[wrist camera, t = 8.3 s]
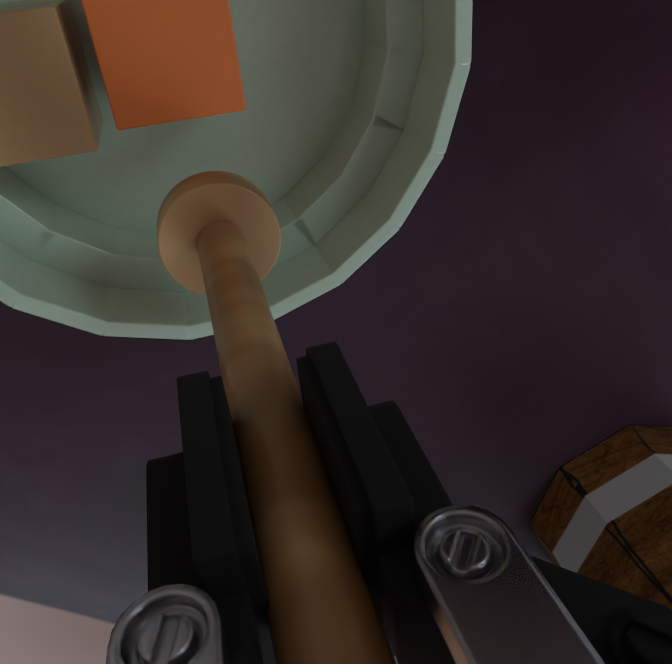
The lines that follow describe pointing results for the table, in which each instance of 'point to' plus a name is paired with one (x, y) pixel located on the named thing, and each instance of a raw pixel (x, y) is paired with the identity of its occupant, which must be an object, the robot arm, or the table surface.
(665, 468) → the mug
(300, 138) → the stir bowl
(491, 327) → the table surface
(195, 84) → the orange block
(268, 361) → the stirrer
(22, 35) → the maple block
